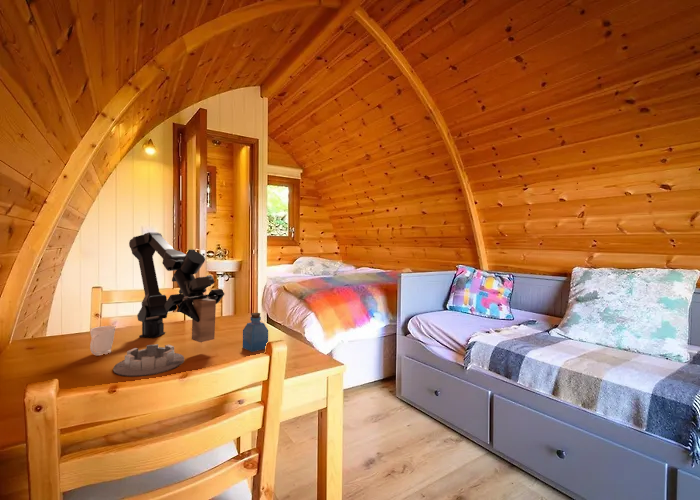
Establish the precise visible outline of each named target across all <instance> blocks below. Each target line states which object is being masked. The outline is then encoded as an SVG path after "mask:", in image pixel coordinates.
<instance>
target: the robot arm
mask: <svg viewBox="0 0 700 500" xmlns="http://www.w3.org/2000/svg"><path fill="white" fill-rule="evenodd" d="M128 247H129V249H130V251H131V254H132V255H133V256H134V257H135V258H136V259H137V261H138V265H139V270H140V275H141V280H142V281H141V282H142V286H143V291H144V297H143V299H142V301H141V308H140V310H139V311H138V313H137V316H136V317H137V321H138V322H141V334H140V335H138V337H139V338H152V339H153V338H158V337H160V336H162V335H164V334H166V331H165V326H164V325H165V323H164V321H163V320H164V319H167V318H168V314H169V312H177V313H182V314H183V315H186V317H189V318H190V319H191V320H192V319H193V320H195V321H196V322H199V321H200V319H199V316H198V314H197V312H196V310H195V308H194V306H193V300H197V299H206V298H208V299H213V300H216V305H217V304H219V302H220V301H221V300H222V298H223V297H224V296H225V291H224V290H223V289H222V288H216V289H214V288H213V289H211V290H210V291H209V293H208V294H204V293H206V292H207V288H209V287H211V286H212V285H213V284H215V279H214V277H213V275H212V274H208V275H206V276H199V277H195V276H194V275H197V274H198V272H199V271H200V269H201V267H202V266H203V264H204V263H205V261H206V257H205V256H204V254H201V253H200V252H197V251H196V250H195V249H188V250H187V252H186V253H184V252H182V251H180V250H176V249H174V248H173V246H172V245H171V244H170V242H168V241H167V240H166V239H164V237H163V235H162V233H159V232H146V233H144V234H141V235H137V236H133V237H132V238H130V240H129V243H128ZM155 252H156V253H157V254H158V255H159V256H160V257H161V258H162V262H161V263H162V265H163V267H164V268H165V270H166V271H168V272H171V271H175V272H174V273H173V276H172V278H171V282H174V283H175V282H176V283H177V285H178V288H179V290H178V292H179V293H175V294H174V293H173V294H170V295H169V296H168V297H167V295H166V294H162V293H161V292H160V288H159V283H158V277H157V273H156V268H155V263H154V258H153V257H154V254H155Z"/></svg>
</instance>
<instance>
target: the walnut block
mask: <svg viewBox="0 0 700 500" xmlns="http://www.w3.org/2000/svg"><path fill="white" fill-rule="evenodd" d="M193 306H194V308H195V310H196V312H197V314H198V316H199V319H200V321H199V322H196V321H195V320H193V319H192V318H191V321H192V322H191V340H192V341H196V342H198V343H204V342H208V341H214V340H215V334H216V332H215V331H216V330H215V329H216V309H217V304H216V300H213V299H208V298H206V299H197V300H193Z"/></svg>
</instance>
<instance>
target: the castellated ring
mask: <svg viewBox="0 0 700 500" xmlns="http://www.w3.org/2000/svg"><path fill="white" fill-rule="evenodd" d="M184 362H185V356H184V355H183V354H181V353H176V352H175V346H174V345H171V344H166V345H164V347H161V346H160V347H159V344H158V343H156V344H147V345H146V347H145V348H143V349H140V350H139V348H137V347H134V348H132V349H129V350H127V351H126V354H124V359H123V360H121V361H119V362H117V363H116V364H115V365H114V366H113V373H114V374H116V375H118V376H121V377H128V378H129V377H132V378H134V377H136V378H137V377H146V376H153V375H157V374H163V373H166V372H168V371H172V370H174V369H176V368H178V367H180V366H181V365H182V364H183V363H184Z"/></svg>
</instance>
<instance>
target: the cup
mask: <svg viewBox="0 0 700 500" xmlns="http://www.w3.org/2000/svg"><path fill="white" fill-rule="evenodd" d="M89 332H90V337H91V339H90V342H89V343H90V345H89V350H90V352H91V354H92V355H94V356H96V357H98V356H102V355H103V354H105V355H109V354H111V353H112V346H113V344H114V339H115V335H116V334H115V332H116V325H103V326H101V325H100V326H96V327H92V328H90V331H89ZM108 353H109V354H108Z"/></svg>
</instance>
